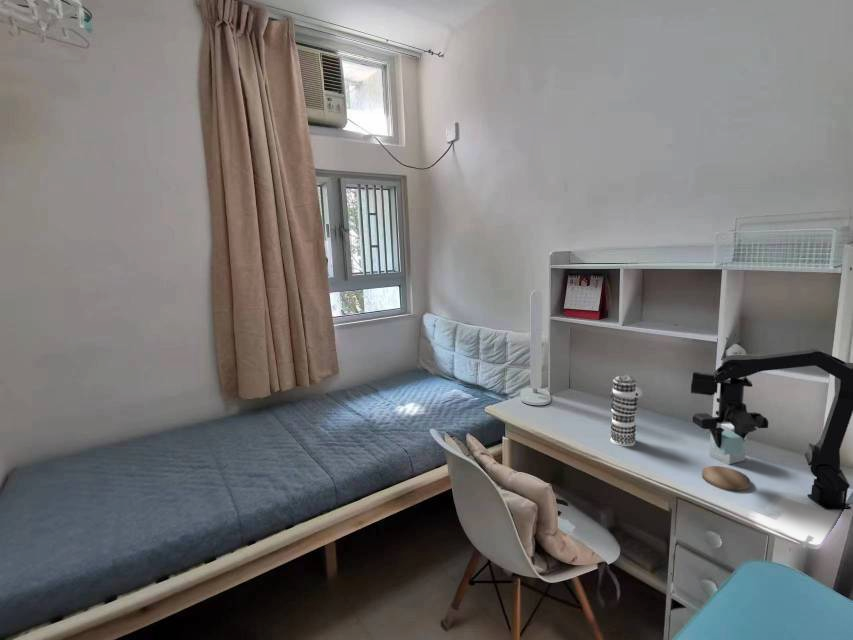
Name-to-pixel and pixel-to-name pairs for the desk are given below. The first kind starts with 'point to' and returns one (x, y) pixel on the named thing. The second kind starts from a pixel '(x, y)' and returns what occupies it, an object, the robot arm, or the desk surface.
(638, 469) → the desk surface
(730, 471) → the walnut base
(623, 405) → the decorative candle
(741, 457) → the supplement box
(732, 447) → the teal block
